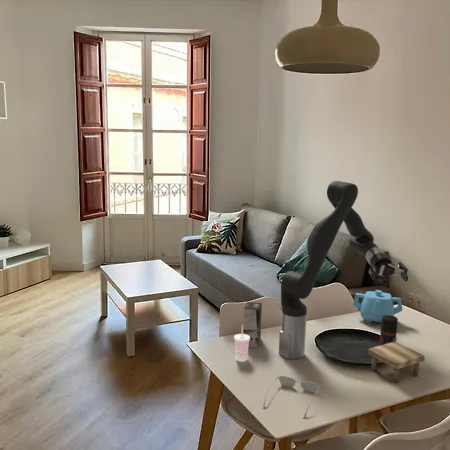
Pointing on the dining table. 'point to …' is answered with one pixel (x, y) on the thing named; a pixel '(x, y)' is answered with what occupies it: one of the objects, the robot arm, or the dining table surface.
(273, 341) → the dining table surface
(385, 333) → the deodorant
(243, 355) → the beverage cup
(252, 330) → the coffee box
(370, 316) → the teapot
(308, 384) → the eyeglasses
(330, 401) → the dining table surface
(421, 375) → the dining table surface
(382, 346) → the stool
